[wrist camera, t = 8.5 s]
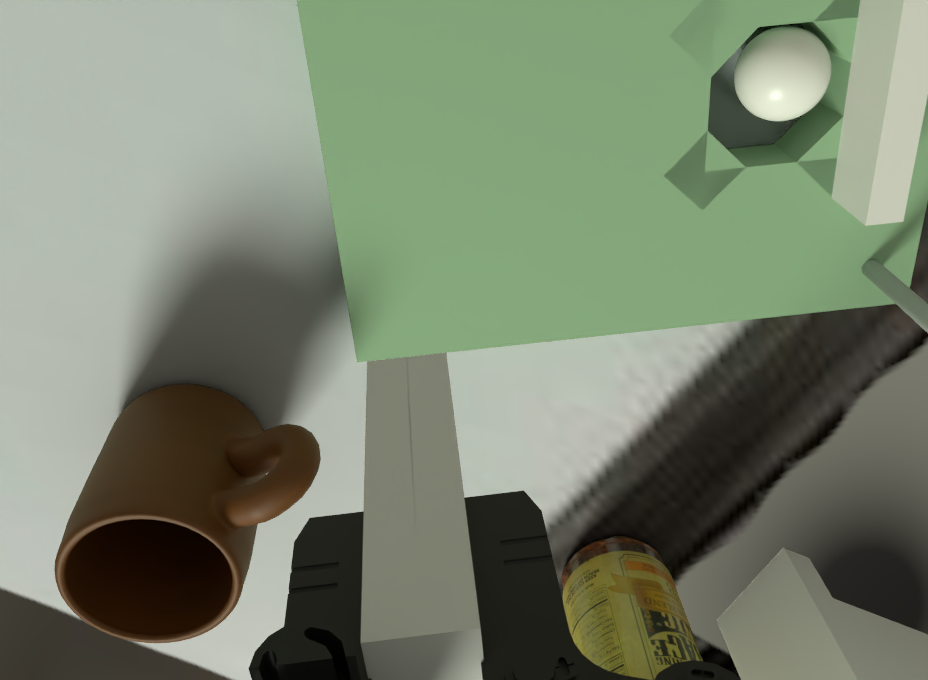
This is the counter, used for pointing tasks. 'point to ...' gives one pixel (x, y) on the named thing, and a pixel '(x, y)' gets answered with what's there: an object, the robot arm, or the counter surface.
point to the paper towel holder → (814, 631)
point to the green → (607, 168)
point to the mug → (177, 513)
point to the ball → (782, 73)
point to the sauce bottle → (626, 609)
